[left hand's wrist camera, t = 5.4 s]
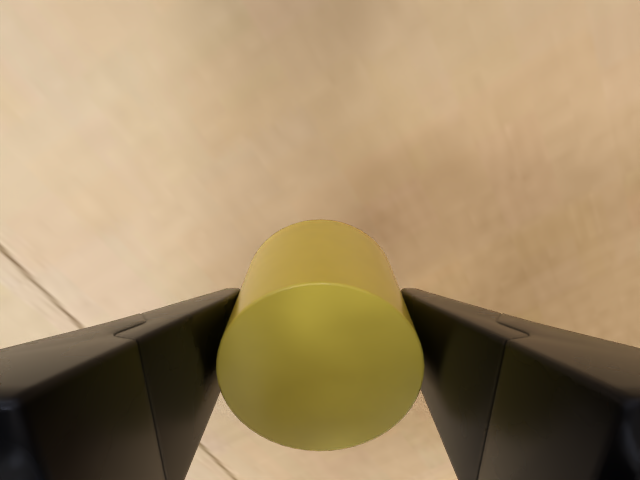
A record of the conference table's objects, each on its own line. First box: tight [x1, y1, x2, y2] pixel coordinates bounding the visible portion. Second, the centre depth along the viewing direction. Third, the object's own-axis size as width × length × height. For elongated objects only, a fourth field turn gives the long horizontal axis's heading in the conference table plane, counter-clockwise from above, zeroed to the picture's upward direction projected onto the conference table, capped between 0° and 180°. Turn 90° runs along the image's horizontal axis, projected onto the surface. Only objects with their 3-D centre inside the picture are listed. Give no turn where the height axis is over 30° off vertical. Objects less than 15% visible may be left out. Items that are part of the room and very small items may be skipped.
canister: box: [216, 220, 425, 451], centre depth 11 cm, size 5×5×4 cm
